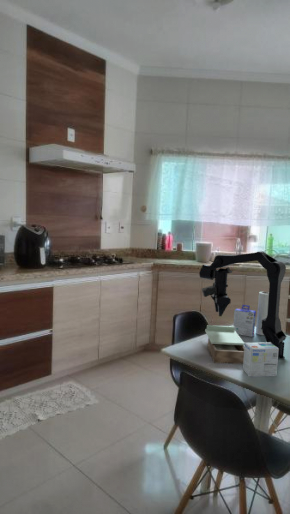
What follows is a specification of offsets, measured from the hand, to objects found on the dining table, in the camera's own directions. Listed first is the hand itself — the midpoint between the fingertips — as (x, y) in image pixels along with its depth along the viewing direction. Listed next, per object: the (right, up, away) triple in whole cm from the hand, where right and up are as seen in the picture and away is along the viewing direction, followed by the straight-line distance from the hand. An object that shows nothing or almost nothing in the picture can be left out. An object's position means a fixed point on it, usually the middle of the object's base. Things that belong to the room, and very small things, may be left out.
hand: (218, 314), depth 162 cm
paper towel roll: (+25, -12, +11) cm, 30 cm away
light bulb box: (+8, -16, -34) cm, 39 cm away
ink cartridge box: (+15, -12, +10) cm, 22 cm away
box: (-1, -14, -19) cm, 24 cm away
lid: (0, -8, -13) cm, 15 cm away
